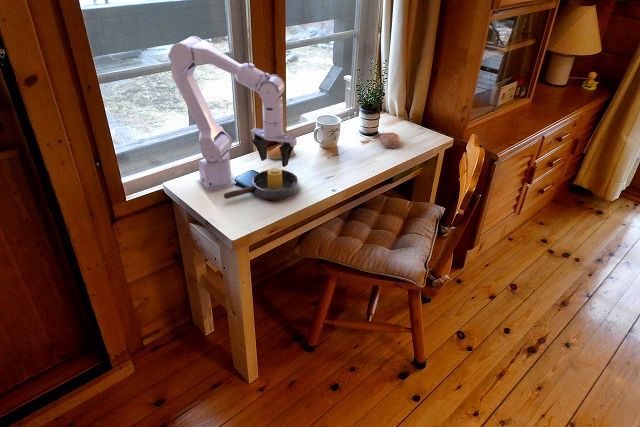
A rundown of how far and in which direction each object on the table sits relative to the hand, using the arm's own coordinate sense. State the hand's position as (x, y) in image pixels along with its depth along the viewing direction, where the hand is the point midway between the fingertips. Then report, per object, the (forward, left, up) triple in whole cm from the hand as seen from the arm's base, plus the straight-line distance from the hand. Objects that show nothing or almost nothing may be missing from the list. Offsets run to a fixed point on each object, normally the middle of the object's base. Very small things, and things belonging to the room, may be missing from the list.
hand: (274, 162), depth 143 cm
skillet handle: (-12, 0, -8) cm, 14 cm away
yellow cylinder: (0, 0, -9) cm, 9 cm away
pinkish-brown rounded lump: (+53, +9, -10) cm, 55 cm away
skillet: (0, 0, -10) cm, 10 cm away
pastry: (+13, +20, -10) cm, 26 cm away
